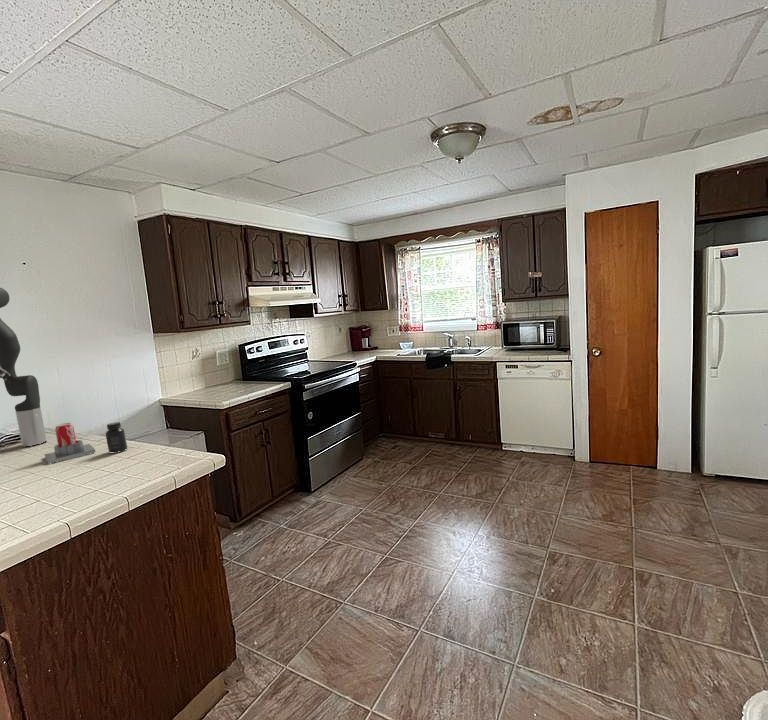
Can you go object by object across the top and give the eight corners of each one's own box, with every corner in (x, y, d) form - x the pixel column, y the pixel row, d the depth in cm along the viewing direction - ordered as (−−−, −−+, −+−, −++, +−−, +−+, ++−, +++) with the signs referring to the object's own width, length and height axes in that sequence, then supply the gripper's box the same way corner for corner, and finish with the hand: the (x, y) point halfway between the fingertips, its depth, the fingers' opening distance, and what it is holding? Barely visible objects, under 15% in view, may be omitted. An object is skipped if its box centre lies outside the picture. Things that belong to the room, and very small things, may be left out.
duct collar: (44, 457, 182) (42, 446, 182) (89, 447, 193) (87, 436, 193) (48, 464, 172) (46, 452, 172) (95, 452, 183) (93, 441, 182)
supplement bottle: (131, 448, 185) (126, 420, 184) (120, 453, 179) (115, 425, 177) (116, 448, 186) (111, 421, 185) (104, 454, 179) (100, 426, 178)
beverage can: (68, 454, 179) (62, 426, 177) (55, 454, 180) (50, 426, 179) (81, 449, 185) (76, 422, 183) (69, 449, 186) (64, 422, 185)
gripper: (-18, 352, 168) (26, 376, 178) (-18, 351, 179) (23, 374, 188) (-33, 367, 166) (11, 391, 175) (-32, 366, 176) (10, 388, 185)
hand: (18, 382), depth 181 cm, fingers open, 8 cm apart
